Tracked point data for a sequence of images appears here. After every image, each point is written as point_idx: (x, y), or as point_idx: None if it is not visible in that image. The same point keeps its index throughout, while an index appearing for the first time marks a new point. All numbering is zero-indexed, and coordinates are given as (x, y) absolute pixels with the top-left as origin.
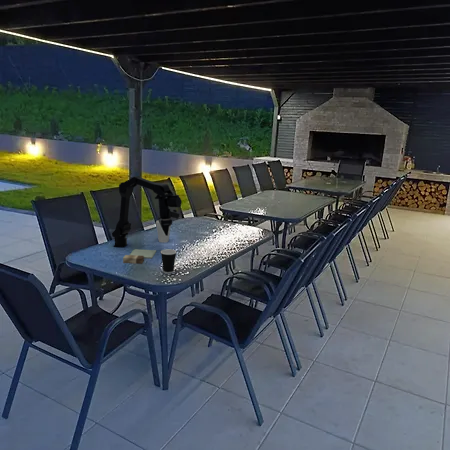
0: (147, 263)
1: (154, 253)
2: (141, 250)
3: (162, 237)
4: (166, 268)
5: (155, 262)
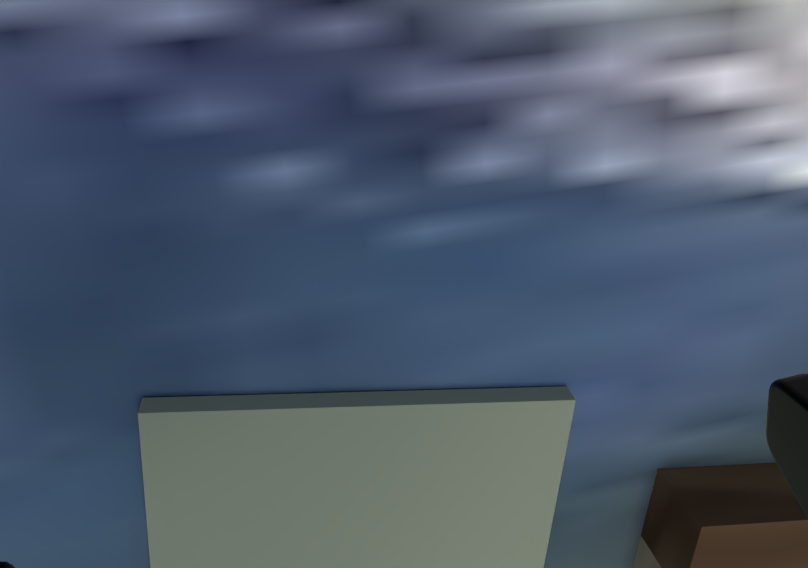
0: None
1: (320, 402)
2: None
3: None
4: None
5: (752, 293)
